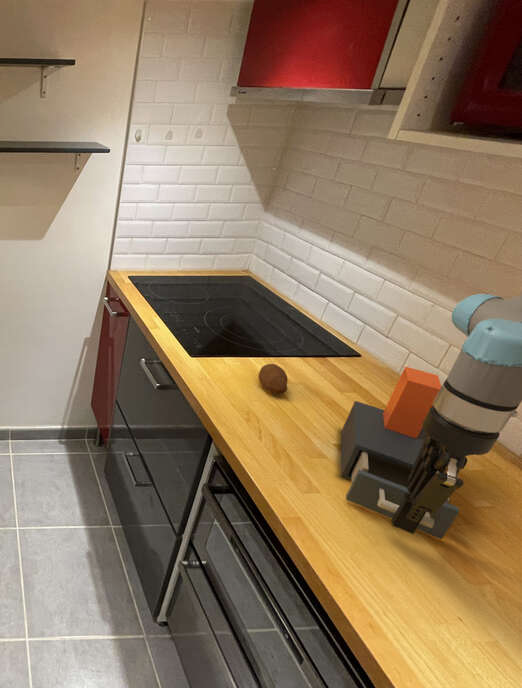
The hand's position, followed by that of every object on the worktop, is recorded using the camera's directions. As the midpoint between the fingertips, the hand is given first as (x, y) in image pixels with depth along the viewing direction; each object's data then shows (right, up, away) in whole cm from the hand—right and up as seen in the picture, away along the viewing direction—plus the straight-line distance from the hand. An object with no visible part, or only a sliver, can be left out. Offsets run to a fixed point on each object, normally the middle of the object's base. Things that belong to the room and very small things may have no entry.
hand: (402, 526), depth 76 cm
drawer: (+6, 0, +9) cm, 11 cm away
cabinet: (+12, +3, +17) cm, 21 cm away
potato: (+4, +14, +42) cm, 45 cm away
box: (+15, +12, +17) cm, 25 cm away
